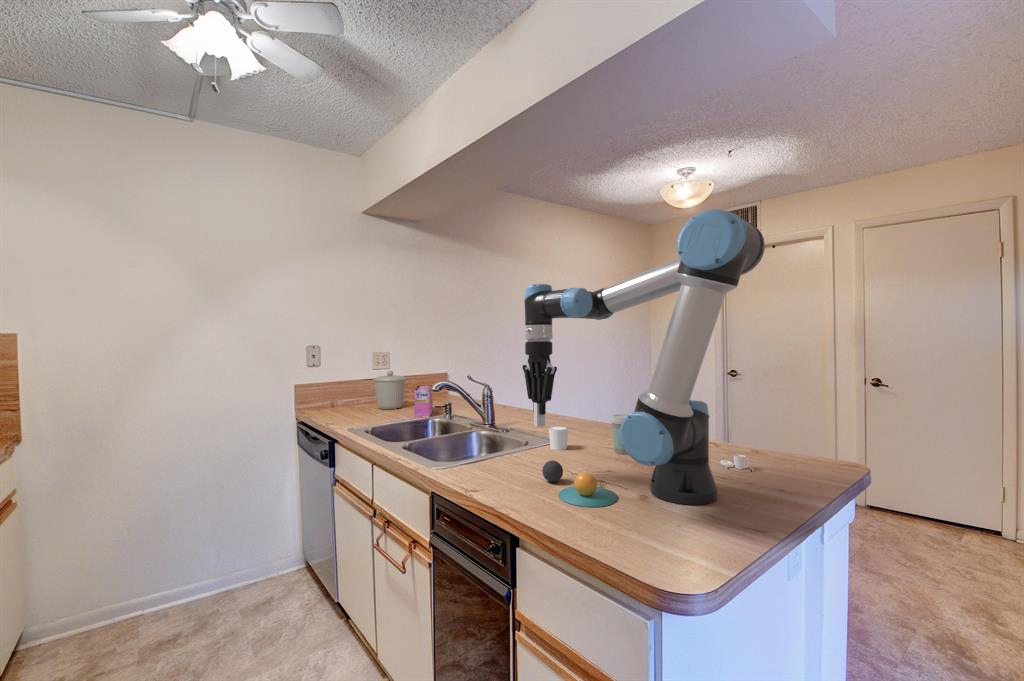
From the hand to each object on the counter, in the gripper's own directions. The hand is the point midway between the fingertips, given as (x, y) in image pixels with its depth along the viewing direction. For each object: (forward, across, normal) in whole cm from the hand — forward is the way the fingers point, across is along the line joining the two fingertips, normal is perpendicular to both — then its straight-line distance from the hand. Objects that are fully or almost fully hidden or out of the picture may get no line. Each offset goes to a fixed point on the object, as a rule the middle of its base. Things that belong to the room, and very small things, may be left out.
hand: (539, 425), depth 121 cm
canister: (+14, -145, +5) cm, 146 cm away
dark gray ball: (+11, +6, 0) cm, 13 cm away
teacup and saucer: (+15, +26, +54) cm, 61 cm away
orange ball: (+11, +18, 0) cm, 21 cm away
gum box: (+14, -117, +14) cm, 119 cm away
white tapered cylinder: (+14, -21, +24) cm, 35 cm away
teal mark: (+14, +19, 0) cm, 24 cm away
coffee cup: (+14, -4, +38) cm, 41 cm away
